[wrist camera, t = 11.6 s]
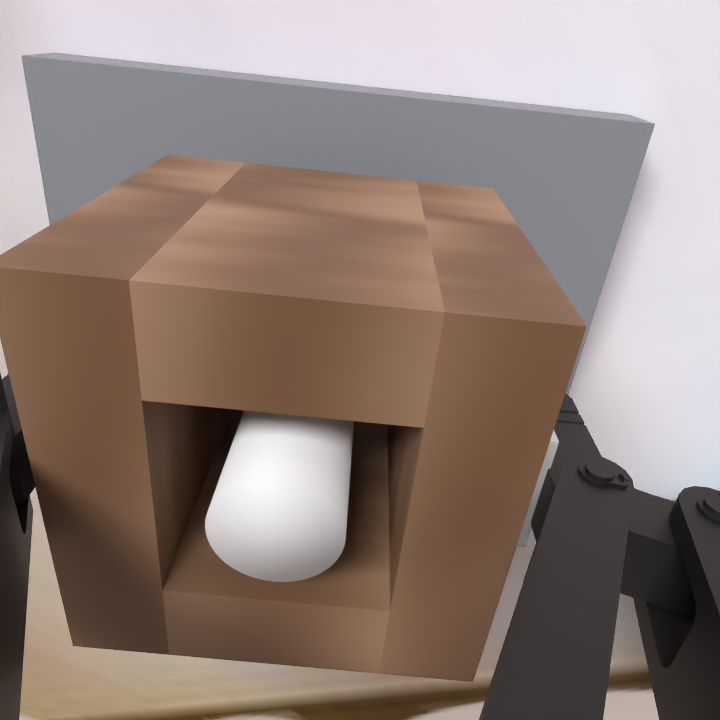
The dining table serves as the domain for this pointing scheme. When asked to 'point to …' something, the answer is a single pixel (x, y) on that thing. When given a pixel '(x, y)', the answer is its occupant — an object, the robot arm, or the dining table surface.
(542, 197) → the spindle stand
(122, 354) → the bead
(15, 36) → the dining table surface
